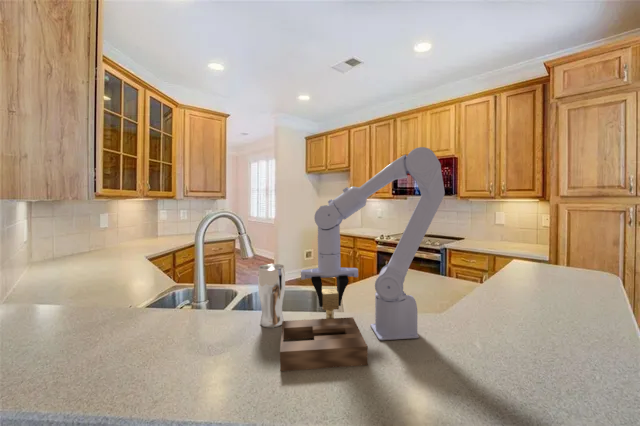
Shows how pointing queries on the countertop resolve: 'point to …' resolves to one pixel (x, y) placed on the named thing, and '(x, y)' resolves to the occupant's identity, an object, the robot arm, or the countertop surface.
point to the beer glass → (271, 294)
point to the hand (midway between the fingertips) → (329, 305)
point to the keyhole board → (322, 344)
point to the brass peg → (330, 301)
